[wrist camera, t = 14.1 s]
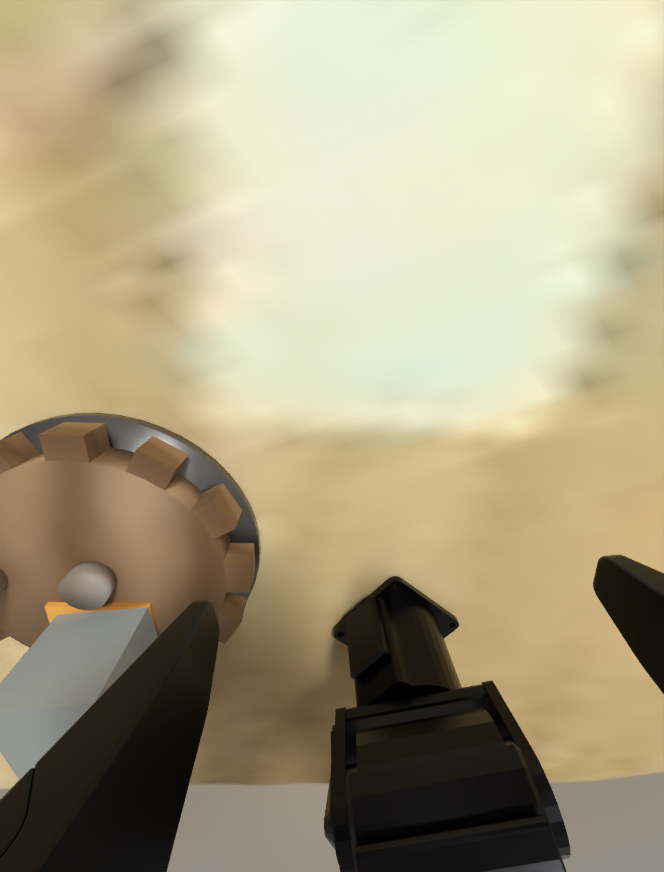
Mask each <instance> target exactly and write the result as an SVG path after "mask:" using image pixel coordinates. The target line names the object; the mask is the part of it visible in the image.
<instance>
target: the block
mask: <svg viewBox="0 0 664 872" xmlns="http://www.w3.org/2000/svg"><path fill="white" fill-rule="evenodd" d="M157 637H158V635H157V632H156V629H155V626H154V623H153V620H152V617H151V614H150V611H149V608H148V607H144V608H132V609H120V610H107V611H95V612H83V613H71V614H59V615H57V616H56V617H55V618H54V620H53V621H52V622H51V623H50V624H49V626H48V627H47V628H46V629H45V630H44V632H43V633H42V634H41V635H40V636H39V638H38V639H37V640H36V641H35V642H34V644H33V645H32V646H31V647H30V648H29V650H28V651H27V652H26V653H25V654H24V656H23V657H22V658H21V659H20V660H19V662H18V663H17V664H16V665H15V666H14V668H13V669H12V670H11V671H10V672H9V674H8V675H7V676H6V677H5V678H4V680H3V681H2V682H1V683H0V752H1V753H2V755H3V756H4V758H5V759H6V761H7V762H8V764H9V765H10V767H11V768H12V770H13V771H14V773H15V774H16V776H17V777H18V778H19V780H20V779H21V778H22V777H23V776H24V775H25V774H26V773H27V772H28V771H29V770H30V769H31V768H35V765H36V763H37V762H38V761H39V759H40V758H41V757H42V756H43V755H44V754H45V753H46V752H47V751H48V750H49V749H50V748H51V747H52V746H53V745H54V744H55V743H56V742H57V741H58V740H59V739H60V738H61V737H62V736H63V735H64V734H65V733H66V732H67V731H68V729H69V728H70V727H71V726H72V725H73V724H74V723H75V722H76V721H77V720H78V719H79V718H80V717H81V716H82V715H83V714H84V713H85V712H86V711H87V710H88V709H89V708H90V707H91V706H92V705H93V704H94V703H95V702H96V700H97V699H98V698H99V697H100V696H101V695H102V694H103V693H104V692H105V691H106V690H107V689H108V688H109V687H110V686H111V685H112V684H113V683H114V682H115V681H116V680H117V679H118V678H119V677H120V676H121V675H122V674H123V673H124V672H125V670H126V669H127V668H128V667H129V666H130V665H131V664H132V663H133V662H134V661H135V660H136V659H137V658H138V657H139V656H140V655H141V654H142V653H143V652H144V651H145V650H146V649H147V648H148V647H149V646H150V645H151V644H152V643H153V641H154V640H155V639H156V638H157Z"/></svg>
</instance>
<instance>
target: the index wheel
mask: <svg viewBox="0 0 664 872" xmlns="http://www.w3.org/2000/svg"><path fill="white" fill-rule="evenodd" d="M38 435H39V439H40V442H41V446H42V450H43V453H40V452H39V451H38V450H37V449H36V447H35V446H34V445H33V444H32V443H31V442H30V441H29V440H28V439H27V438H26V437H25V435H24V434H23V433H22V432H19V433H17V434H14V435H12V436H10V437H7V438H5V439H3V440H1V441H0V640H2V639H5V638H7V637H9V636H11V637H12V638H14V639H15V640H17V641H19V642H20V643H22V644H24V645H26V646H28V647H31V646H32V645H33V644H34V642H35V641H36V640H37V639H38V638H39V636H40V635H41V634H42V633H43V632H44V630H45V629H46V628H47V627H48V626H49V624H50V623H51V622H52V621H53V620H54V618H55V617H56V616H57V615H59V614H71V613H83V612H95V611H107V610H120V609H132V608H144V607H148V608H149V611H150V614H151V617H152V620H153V623H154V626H155V629H156V632H157V635H158V636H159V635H160V634H161V633H162V632H163V631H164V630H165V629H166V628H167V627H168V626H169V625H170V624H171V623H172V622H173V621H174V620H175V619H176V618H177V617H178V616H179V615H180V614H181V613H182V611H183V610H184V609H185V608H186V607H187V606H188V605H189V604H190V603H192V602H193V601H199V600H211V601H212V603H213V606H214V609H215V612H216V616H217V619H218V622H219V627H220V636H219V641H220V642H223V643H226V642H227V641H228V639H229V638H230V637H231V635H232V634H233V632H234V631H235V630H236V628H237V627H238V626H239V624H240V623H241V620H242V615H243V611H244V607H245V603H246V599H247V598H245V597H242V596H240V595H238V594H236V593H233V592H237V593H250V590H251V586H252V582H253V577H254V573H255V550H254V543H231V539H230V536H229V533H228V532H230V531H233V530H235V529H236V526H237V523H238V520H239V518H240V515H241V512H242V509H241V508H240V506H239V505H238V504H237V502H236V501H235V499H234V498H233V497H232V495H231V494H230V492H229V491H228V490H227V488H226V487H225V485H224V484H223V483H221V484H219V485H217V486H215V487H213V488H211V489H209V490H207V491H205V492H203V493H202V492H201V491H200V490H199V489H198V488H197V487H196V486H195V485H194V484H193V483H192V482H190V481H189V480H187V479H186V478H185V477H183V476H182V475H181V474H179V471H180V470H181V468H182V466H183V464H184V462H185V460H186V459H187V457H188V455H189V454H187V453H185V452H183V451H181V450H180V449H178V448H176V447H174V446H172V445H170V444H168V443H166V442H164V441H162V440H160V439H158V438H156V437H154V436H152V437H151V438H150V439H148V440H147V441H146V442H145V443H143V444H142V445H141V446H140V447H138V448H137V449H136V451H135V453H134V452H131V451H128V450H123V449H118V448H113V447H110V444H109V438H108V433H107V428H106V423H87V422H63V423H61V424H59V425H57V426H55V427H53V428H51V429H48V430H46V431H44V432H42V433H40V434H38Z"/></svg>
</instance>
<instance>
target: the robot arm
mask: <svg viewBox="0 0 664 872" xmlns="http://www.w3.org/2000/svg"><path fill="white" fill-rule="evenodd" d="M394 584H397V585H394ZM593 587H594V591H595V593H596V595H597V597H598V598H599V600H600V602H601V603H602V605H603V606H604V608H605V609H606V611H607V612H608V614H609V616H610V617H611V619H612V620H613V622H614V623H615V625H616V626H617V628H618V630H619V631H620V633H621V634H622V636H623V637H624V639H625V640H626V642H627V644H628V645H629V647H630V648H631V650H632V651H633V653H634V654H635V656H636V657H637V659H638V660H639V662H640V663H641V665H642V666H643V667H644V669H645V670H646V671H647V673H648V674H649V675H650V677H651V678H652V679H653V681H654V682H655V683H656V685H657V686H658V687H659V689H660V690H661V691H662V693H663V694H664V573H661V572H659V571H657V570H655V569H652V568H650V567H648V566H645V565H643V564H641V563H639V562H636V561H634V560H632V559H629V558H627V557H625V556H622V555H610V556H603V557H601V558H600V559H599V560H598V563H597V568H596V572H595V577H594V581H593ZM458 626H459V623H458V621H457V618H456V617H455V616H454V615H452V614H451V613H449V612H448V611H447V610H445V609H444V608H442V607H441V606H440V605H438V604H437V603H435V602H434V601H433V600H431V599H430V598H428V597H427V596H426V595H424V594H423V593H421V592H420V591H419V590H417V589H416V588H414V587H413V586H411V585H410V584H409V583H407V582H406V581H404V580H403V579H402V578H400V577H397V576H395V577H392V578H390V579H389V580H388V581H386V582H385V583H384V584H383V585H382V586H381V587H380V588H378V589H377V590H376V591H375V592H374V593H373V594H372V595H370V596H369V597H368V598H367V599H366V600H365V601H364V602H362V603H361V604H360V605H359V606H358V607H357V608H356V609H354V610H353V611H352V612H351V613H350V614H349V615H348V616H346V617H345V618H344V619H343V620H342V621H341V622H340V623H338V624H337V625H336V626H335V627H334V630H333V631H334V637H335V638H336V639H337V640H339V641H341V642H342V643H344V644H346V645H347V646H348V651H349V662H350V673H351V678H353V679H354V680H355V691H356V701H357V707H355V708H350V709H346V708H345V707H344V708H338V709H336V716H335V725H333V730H332V732H331V776H330V783H329V790H328V797H327V804H326V810H325V818H324V830H325V836H326V838H327V840H328V841H329V842H330V844H331V845H332V846H333V847H334V849H335V850H336V856H337V860H338V864H339V866H340V872H566V869H565V866H564V864H563V861H562V859H566V858H569V857H570V845H569V840H568V836H567V832H566V829H565V825H564V822H563V819H562V816H561V813H560V810H559V807H558V804H557V802H556V799H555V796H554V794H553V791H552V789H551V787H550V784H549V782H548V779H547V777H546V775H545V773H544V771H543V768H542V766H541V764H540V762H539V760H538V758H537V756H536V755H535V753H534V751H533V749H532V747H531V746H530V744H529V742H528V741H527V739H526V737H525V735H524V734H523V732H522V730H521V729H520V727H519V725H518V724H517V722H516V720H515V718H514V717H513V715H512V713H511V712H510V710H509V708H508V707H507V705H506V703H505V701H504V700H503V698H502V696H501V695H500V693H499V691H498V689H497V688H496V686H495V684H494V683H493V681H486V682H482V684H481V685H476V686H470V687H465V688H462V687H461V684H460V681H459V679H458V676H457V673H456V671H455V668H454V665H453V663H452V660H451V657H450V655H449V652H448V649H447V647H446V644H445V641H444V638H445V637H446V636H448V635H449V634H450V633H452V632H453V631H454V630H455V629H457V628H458ZM219 636H220V627H219V622H218V619H217V616H216V612H215V609H214V606H213V603H212V601H211V600H199V601H193V602H192V603H190V604H189V605H188V606H187V607H186V608H185V609H184V610H183V611H182V613H181V614H180V615H179V616H178V617H177V618H176V619H175V620H174V621H173V622H172V623H171V624H170V625H169V626H168V627H167V628H166V629H165V630H164V631H163V632H162V633H161V634H160V635H159V636H158V637H157V638H156V639H155V640H154V641H153V643H152V644H151V645H150V646H149V647H148V648H147V649H146V650H145V651H144V652H143V653H142V654H141V655H140V656H139V657H138V658H137V659H136V660H135V661H134V662H133V663H132V664H131V665H130V666H129V667H128V668H127V669H126V670H125V672H124V673H123V674H122V675H121V676H120V677H119V678H118V679H117V680H116V681H115V682H114V683H113V684H112V685H111V686H110V687H109V688H108V689H107V690H106V691H105V692H104V693H103V694H102V695H101V696H100V697H99V698H98V699H97V700H96V702H95V703H94V704H93V705H92V706H91V707H90V708H89V709H88V710H87V711H86V712H85V713H84V714H83V715H82V716H81V717H80V718H79V719H78V720H77V721H76V722H75V723H74V724H73V725H72V726H71V727H70V728H69V729H68V731H67V732H66V733H65V734H64V735H63V736H62V737H61V738H60V739H59V740H58V741H57V742H56V743H55V744H54V745H53V746H52V747H51V748H50V749H49V750H48V751H47V752H46V753H45V754H44V755H43V756H42V757H41V758H40V759H39V761H38V762H37V763H36V765H35V768H31V769H30V770H29V771H28V772H27V773H26V774H25V775H24V776H23V777H22V778H21V779H20V780H19V781H18V782H17V783H16V784H15V785H14V786H13V787H12V788H11V789H10V790H9V791H8V792H7V794H5V795H4V796H3V798H2V799H0V872H167V868H168V864H169V860H170V856H171V852H172V848H173V844H174V840H175V836H176V832H177V829H178V825H179V821H180V817H181V813H182V809H183V805H184V801H185V798H186V793H187V790H188V786H189V782H190V778H191V774H192V770H193V766H194V762H195V759H196V755H197V751H198V747H199V743H200V739H201V735H202V731H203V727H204V723H205V719H206V715H207V710H208V705H209V699H210V693H211V687H212V681H213V674H214V668H215V661H216V655H217V649H218V642H219Z"/></svg>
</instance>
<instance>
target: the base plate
mask: <svg viewBox="0 0 664 872" xmlns="http://www.w3.org/2000/svg"><path fill="white" fill-rule="evenodd" d="M63 422H87V423H106V428H107V433H108V438H109V444H110V447H113V448H118V449H123V450H128V451H131V452H134V453H135V451H136V449H137V448H138V447H140V446H141V445H142V444H143V443H145V442H146V441H147V440H148V439H150V438H151V437H152V436H154V437H156V438H158V439H160V440H162V441H164V442H166V443H168V444H170V445H172V446H174V447H176V448H178V449H180V450H181V451H183V452H185V453H187V454H189V455H188V457H187V459H186V460H185V462H184V464H183V466H182V468H181V470H180V471H179V474H181V475H182V476H183V477H185V478H186V479H187V480H189V481H190V482H192V483H193V484H194V485H195V486H196V487H197V488H198V489H199V490H200V491H201V492H202V493H203V492H205V491H207V490H209V489H211V488H213V487H215V486H217V485H219V484H221V483H223V484H224V485H225V487H226V488H227V490H228V491H229V492H230V494H231V495H232V497H233V498H234V499H235V501H236V502H237V504H238V505H239V506H240V508H241V509H242V512H241V515H240V518H239V520H238V523H237V526H236V529H235V530H233V531H230V532H228V533H229V536H230V539H231V543H254V550H255V573H254V577H253V582H252V586H251V590H252V588H253V585H254V583H255V579H256V575H257V571H258V567H259V562H260V550H261V546H260V535H259V530H258V526H257V522H256V518H255V516H254V513H253V511H252V508H251V506H250V504H249V502H248V500H247V498H246V497H245V495H244V493H243V492H242V490H241V488H240V487H239V486H238V484H237V483H236V482H235V480H234V479H233V478H232V477H231V475H230V474H229V473H228V472H227V471H226V470H225V469H224V468H223V467H222V466H221V465H220V464H219V463H218V462H217V461H216V460H215V459H214V458H212V457H211V456H210V455H209V454H207V453H206V452H205V451H203V450H202V449H201V448H200V447H198V446H196V445H195V444H193V443H192V442H190V441H188V440H187V439H185V438H183V437H182V436H180V435H178V434H175V433H173V432H171V431H169V430H167V429H165V428H163V427H160V426H157V425H154V424H151V423H149V422H146V421H143V420H139V419H134V418H130V417H126V416H121V415H113V414H103V413H76V414H69V415H61V416H56V417H52V418H48V419H45V420H41V421H38V422H35V423H33V424H31V425H28V426H26V427H24V428H22V429H20V430H17V431H15V432H13V433H11V434H9V435H8V436H6V437H5V438H7V437H10V436H12V435H14V434H17V433H19V432H22V433H23V434H24V435H25V437H26V438H27V439H28V440H29V441H30V442H31V443H32V444H33V445H34V446H35V447H36V449H37V450H38V451H39V452H40V453H43V450H42V446H41V442H40V439H39V435H38V434H40V433H42V432H44V431H46V430H48V429H51V428H53V427H55V426H57V425H59V424H61V423H63ZM5 438H3V439H5ZM3 439H2V440H3ZM0 441H1V440H0ZM251 590H250V592H251ZM233 593H236V594H238V595H240V596H242V597H245V598H248V596H249V595H250V593H237V592H233Z"/></svg>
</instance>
